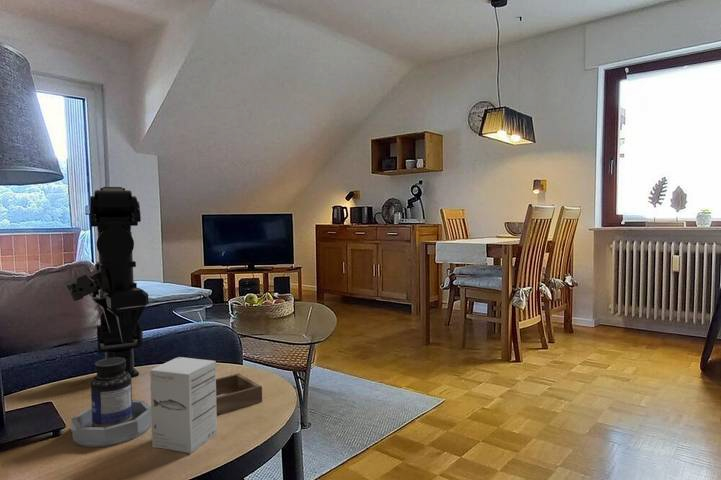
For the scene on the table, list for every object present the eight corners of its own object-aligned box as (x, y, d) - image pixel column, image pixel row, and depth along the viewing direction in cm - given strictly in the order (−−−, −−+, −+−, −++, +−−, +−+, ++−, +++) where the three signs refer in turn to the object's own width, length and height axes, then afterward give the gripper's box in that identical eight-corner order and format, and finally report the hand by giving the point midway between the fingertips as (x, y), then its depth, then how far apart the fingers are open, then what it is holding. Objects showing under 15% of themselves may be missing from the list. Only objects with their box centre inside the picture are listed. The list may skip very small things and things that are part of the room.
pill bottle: (94, 421, 83) (91, 358, 82) (133, 414, 85) (130, 353, 85) (91, 436, 77) (88, 369, 76) (132, 428, 80) (130, 364, 79)
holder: (191, 399, 94) (191, 384, 94) (239, 387, 100) (238, 373, 100) (212, 416, 86) (212, 400, 86) (262, 401, 93) (261, 386, 92)
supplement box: (150, 448, 75) (147, 369, 74) (181, 427, 82) (179, 355, 81) (190, 455, 72) (187, 373, 72) (219, 433, 79) (216, 359, 79)
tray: (67, 428, 82) (66, 412, 82) (140, 409, 89) (139, 394, 89) (80, 454, 73) (79, 437, 73) (160, 431, 80) (159, 415, 80)
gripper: (58, 256, 92) (62, 335, 93) (76, 263, 78) (80, 357, 79) (120, 252, 99) (123, 326, 100) (147, 258, 85) (151, 344, 86)
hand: (119, 337), depth 91 cm, fingers open, 9 cm apart
